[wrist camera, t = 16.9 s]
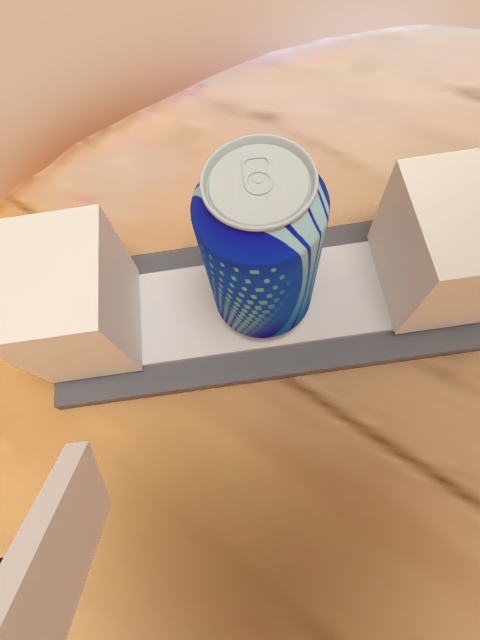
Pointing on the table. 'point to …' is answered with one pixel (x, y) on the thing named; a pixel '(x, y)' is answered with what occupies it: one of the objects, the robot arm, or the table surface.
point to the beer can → (261, 231)
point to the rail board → (200, 307)
